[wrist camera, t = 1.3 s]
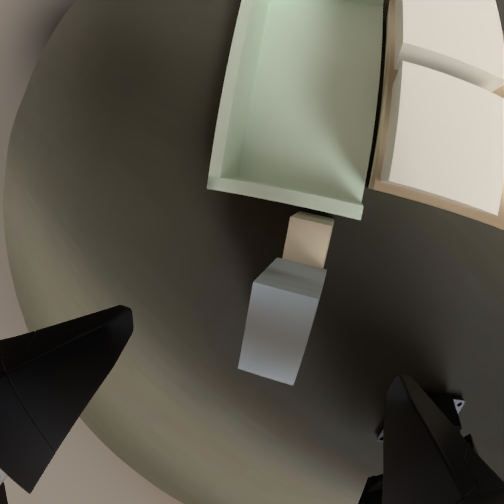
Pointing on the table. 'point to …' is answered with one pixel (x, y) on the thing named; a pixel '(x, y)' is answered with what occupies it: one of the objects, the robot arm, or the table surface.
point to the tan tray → (390, 74)
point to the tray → (300, 103)
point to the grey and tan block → (287, 301)
